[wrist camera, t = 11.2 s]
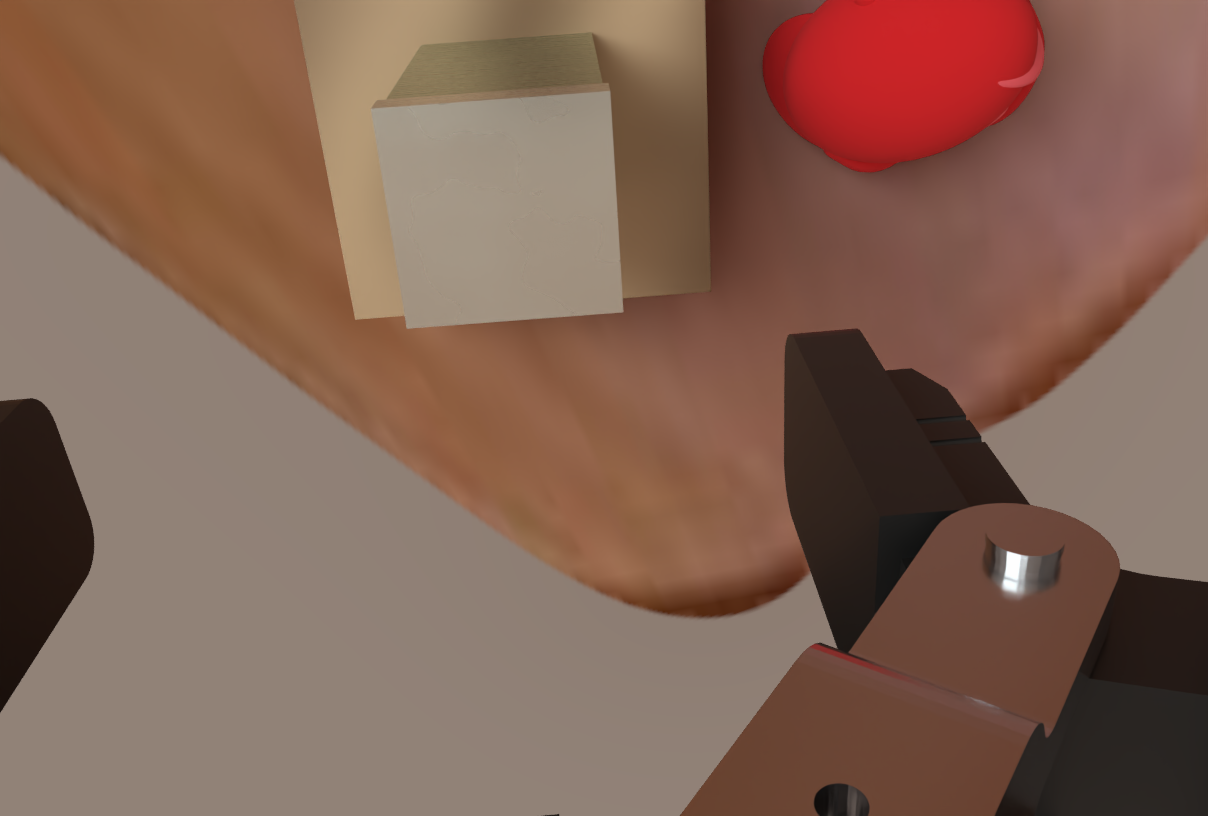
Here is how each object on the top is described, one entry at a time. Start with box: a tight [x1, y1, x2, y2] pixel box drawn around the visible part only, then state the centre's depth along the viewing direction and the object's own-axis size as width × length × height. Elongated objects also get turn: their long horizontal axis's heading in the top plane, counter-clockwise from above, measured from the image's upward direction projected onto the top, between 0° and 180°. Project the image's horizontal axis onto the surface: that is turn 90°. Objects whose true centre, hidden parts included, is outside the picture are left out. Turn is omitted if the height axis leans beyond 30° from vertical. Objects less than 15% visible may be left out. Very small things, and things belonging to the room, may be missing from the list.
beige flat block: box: [294, 0, 711, 320], centre depth 31 cm, size 11×11×5 cm
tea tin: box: [371, 32, 623, 329], centre depth 25 cm, size 5×5×8 cm
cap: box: [763, 0, 1044, 172], centre depth 31 cm, size 8×6×6 cm
